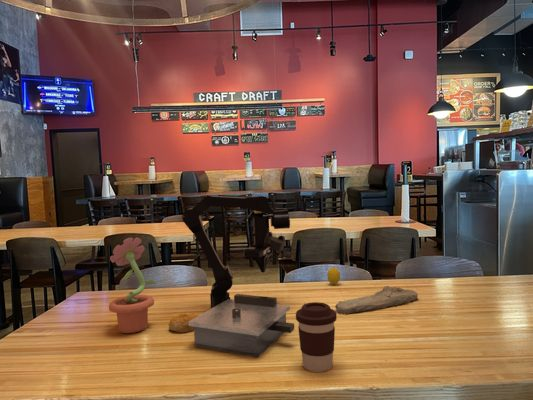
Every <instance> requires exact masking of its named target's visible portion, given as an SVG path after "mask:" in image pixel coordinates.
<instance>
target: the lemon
mask: <svg viewBox="0 0 533 400" xmlns="http://www.w3.org/2000/svg"><path fill="white" fill-rule="evenodd" d="M326 278H327V280H328V281H327V282H329V283H330V284H332V285H333V286H335V285H336V284H338V283H339V282H340V280H341V273H340V269H338V268H337V267H335V266H332V267H331V268H329V269H328V270H327V275H326Z"/></svg>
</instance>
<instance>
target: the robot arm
mask: <svg viewBox="0 0 533 400" xmlns="http://www.w3.org/2000/svg"><path fill="white" fill-rule="evenodd" d="M210 207H224V208H225V207H226V208H227V207H229V208H242V209H243V208H244V209H248V210H251V212H250V214H248V216H247V218H249V219H253V223H252V225H253V232H251V237H253V242H254V243H252V245H251V246H249V247H247V248H245V249H244V250H243V253H242V254H243V257H244V258H253V259H254V261H255V263H256V264H257V266H258V268H259V270H260V272H261V273H265V272H266V270H267V266H268V261H269V258H270V256H271V255H273V254H274V251H271V250H270V249H272V250H275V252H281V251H283V250H284V247H285V245H286V244H287V241H286V237H285V236H284V235H279V236H278V237H277V236H273V232H272V231H270V227H272V228H273V229H274V230H280V229H281V230H283V229H284V230H285V229H290V228H291V218H290V213H289V210H288V209H283V210H274V209H273V208H272V207H271V206H270V201H269V199H268V198H267V197H266V196H264V195H260V194H257V195H250V196H244V197H242V196H241V197H239V196H224V195H223V196H222V195H212V194H207V195H205V196H204V197H203V198H202V199H201V200H200V201H199V202H198V203H197V204H196V205H195V206H193V207H190V208H188V209H186V210H185V211H183V213H182V216H181V218H182V222H183V223H184V224H185V226H186V227H187V229H189V230H190V232H191V233H192V234H193V235H194V237H195V238H196V240H197V242H198V244H199V246H200V248H201V250H202V252H203V254H204V256H205V258H206V260H207V262H208V264H209V265H210V267H211V269H212V275H213V278H214V280H215V281H214V283H212V284H211V289H210V293H209V297H210V308H209V309H208V310H210V309H212V308H213V307H215V306H217V305H219V304H221V303H222V302H224V301H226V300H228V299H231V297H230V292H228V291H230V290H231V288H232V287H233V285H234V284H233V280H234V272H232V270H231V269H230V266H229V264H227V265H224V264H223V262H221V259H220V257H219V255H218V254H217V253H218V252H216V249H215V247H214V246H213V244H212V241H211V240H210V238H209V236H208V234H207V232H206V230H205V227H204V222H203V218H202V216H201V215H202V214H204V213H205V211H207V210H208V209H209V208H210ZM254 211H256V212H254ZM263 212H264V213H266V214H264V213H263ZM267 214H268V215H267Z"/></svg>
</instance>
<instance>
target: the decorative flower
mask: <svg viewBox="0 0 533 400" xmlns="http://www.w3.org/2000/svg"><path fill="white" fill-rule="evenodd" d="M141 244H142V239H141V238H139V237H135V238H133V237H128V238H126V239H124V240H123V244H121V245H120V244H117V245H116V246H115V247H114V249H113V250H112V254H113V255H111V256H110V257H109V260H110V262H111V263H115V264H116V266H118V267H121V266H122V267H123V266H125V265H129V264H130V266H131V268H132V269H130V270H129V271H127V272H126V273H125V275H124V277H123V280H124V281H125V280H127V279H129V278H130V277H131V276H132V275H133V272H134V274H135V276H136V278H137V280H138V283H139V285H138V287H137V288H136V289H134V290H132V291H130V292H129V293H128V294H127V295H126V296H122V297H119V298H116V299H114V300H112V301H111V302H110V303H109V304H108V310H109V311H110V312H112V313H114V314H116V318H117V326H118V330H119V332H120V333H122V334H123V333H124V334H133V333H137V332H141V331H143V330H145V329H147V328H148V319H149V317H148V316H149V315H148V314H149V313H148V312H149V309H150V307H152V306H154V304H155V299H154V298H153V296H152V295H148V294H141V293H142V292H144V289H145V288H146V284H147V285H157V282H156V281H155V280H153V279H145V278H144V275H143V273H142V271H141V270H140V269H139V266H138V264H137V262H136V261H137V260H139V259H140V258H141V257H142V254H143V253H144V251H145V249H146V248H145V246H144V245H141Z"/></svg>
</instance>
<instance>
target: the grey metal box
mask: <svg viewBox="0 0 533 400" xmlns="http://www.w3.org/2000/svg"><path fill="white" fill-rule="evenodd" d="M294 330H295V323H294V322H287V312H286V313H285V314H284V315H283V316H282V317H281V318H279V319H278V320H277V321H276V322H275V323H273V324H272V325H271V326H270V327H269V328H268V329H266V330H265V331H264V332H263V333H262V334H260V335H259V336H256V335H249V334H242V333H235V332H228V331H221V330H214V329H208V328H201V327H194V330H193V338H194V340H193V341H194V347H195V348H200V349H205V350H212V351H218V352H223V353H228V354H229V353H230V354H236V355H240V356H241V355H242V356H248V357H253V358H259V357H260V356H261V355H263V353H264V352H266V350H268V349H269V348H270V347H271V346H272V345H273V344H274V343H275V342H276V341H277V340H278V339H279V338H280V337H281V336H282V335H283V334H284V333H288V334H291V333H292V332H293V331H294Z"/></svg>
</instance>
